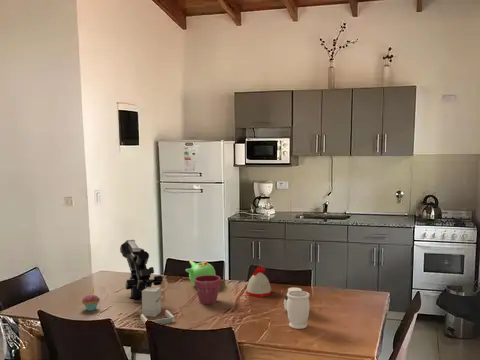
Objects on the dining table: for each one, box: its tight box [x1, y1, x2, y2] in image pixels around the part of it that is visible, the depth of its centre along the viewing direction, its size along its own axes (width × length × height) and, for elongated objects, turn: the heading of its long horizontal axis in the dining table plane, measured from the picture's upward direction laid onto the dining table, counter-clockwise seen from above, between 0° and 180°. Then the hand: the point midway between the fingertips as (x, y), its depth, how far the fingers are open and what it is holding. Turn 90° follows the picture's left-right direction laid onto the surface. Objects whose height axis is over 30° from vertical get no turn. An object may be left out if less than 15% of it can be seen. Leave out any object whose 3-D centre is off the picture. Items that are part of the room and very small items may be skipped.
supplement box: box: [141, 286, 162, 318], centre depth 230 cm, size 7×7×13 cm
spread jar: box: [283, 287, 303, 312], centre depth 233 cm, size 12×11×12 cm
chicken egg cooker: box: [246, 266, 272, 298], centre depth 263 cm, size 14×14×15 cm
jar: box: [286, 290, 311, 330], centre depth 213 cm, size 11×10×15 cm
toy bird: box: [185, 260, 217, 285], centre depth 278 cm, size 18×17×15 cm
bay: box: [140, 309, 176, 325], centre depth 222 cm, size 11×13×2 cm
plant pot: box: [193, 274, 222, 305], centre depth 249 cm, size 14×14×13 cm
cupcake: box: [81, 286, 101, 312], centre depth 238 cm, size 9×8×12 cm
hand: (147, 296), depth 237 cm, fingers closed
